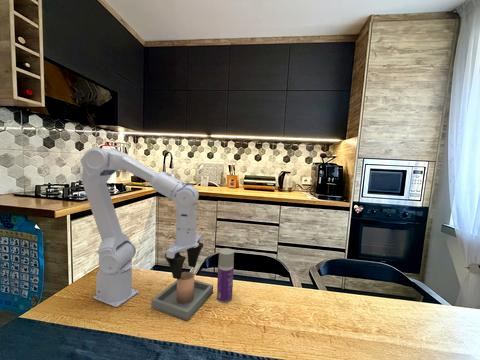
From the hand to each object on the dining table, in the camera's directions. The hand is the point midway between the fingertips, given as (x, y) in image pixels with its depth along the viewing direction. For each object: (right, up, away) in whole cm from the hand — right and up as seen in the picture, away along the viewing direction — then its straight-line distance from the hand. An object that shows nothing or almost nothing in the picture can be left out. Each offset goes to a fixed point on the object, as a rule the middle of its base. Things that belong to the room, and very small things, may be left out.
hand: (184, 271), depth 66 cm
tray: (0, -9, +1) cm, 9 cm away
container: (+12, -9, +3) cm, 15 cm away
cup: (0, -8, +1) cm, 8 cm away
